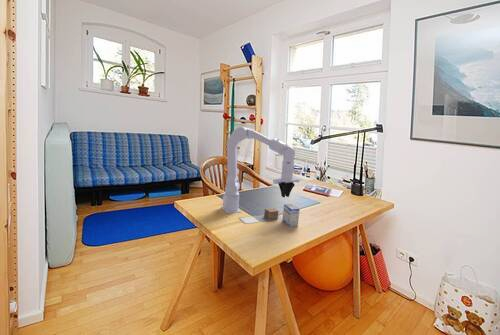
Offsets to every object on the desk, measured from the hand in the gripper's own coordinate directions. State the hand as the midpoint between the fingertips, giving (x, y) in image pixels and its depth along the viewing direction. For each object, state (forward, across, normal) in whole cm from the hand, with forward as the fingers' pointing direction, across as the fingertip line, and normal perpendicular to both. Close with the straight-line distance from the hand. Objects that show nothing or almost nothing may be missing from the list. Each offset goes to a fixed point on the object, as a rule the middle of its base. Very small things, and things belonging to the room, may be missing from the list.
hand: (285, 196), depth 139 cm
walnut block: (+10, -8, 0) cm, 13 cm away
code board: (+10, -14, 0) cm, 17 cm away
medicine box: (+11, -2, -10) cm, 15 cm away
